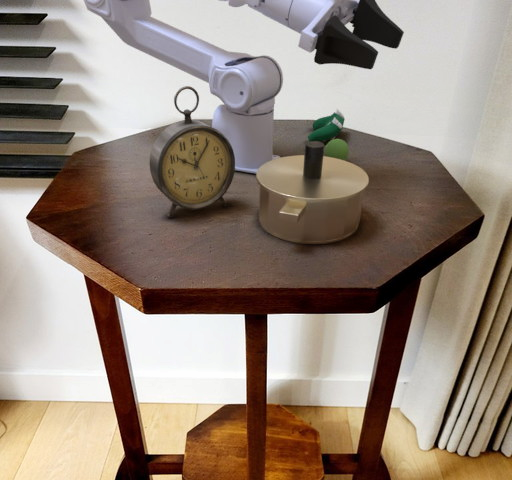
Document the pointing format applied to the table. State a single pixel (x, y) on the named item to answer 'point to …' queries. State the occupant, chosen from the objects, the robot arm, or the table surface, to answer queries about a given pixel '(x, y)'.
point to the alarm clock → (192, 162)
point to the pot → (309, 218)
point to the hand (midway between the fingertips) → (387, 50)
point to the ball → (337, 149)
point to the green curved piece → (327, 127)
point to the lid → (312, 177)
